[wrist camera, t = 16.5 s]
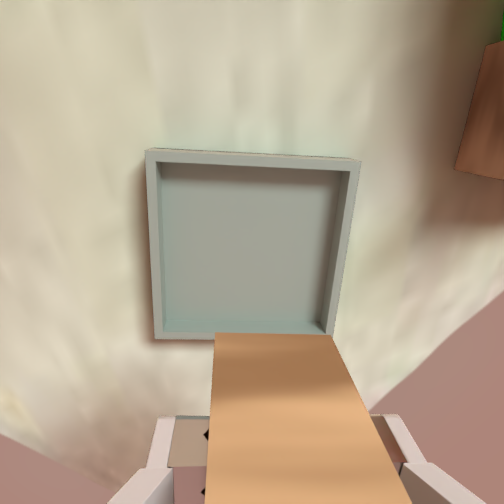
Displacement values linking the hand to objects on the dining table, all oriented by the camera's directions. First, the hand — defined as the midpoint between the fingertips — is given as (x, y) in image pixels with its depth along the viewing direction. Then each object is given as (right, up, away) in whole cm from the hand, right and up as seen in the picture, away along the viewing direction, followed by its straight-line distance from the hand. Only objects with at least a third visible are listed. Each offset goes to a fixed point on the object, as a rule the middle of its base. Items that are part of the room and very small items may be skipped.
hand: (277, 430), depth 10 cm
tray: (-1, +6, +15) cm, 16 cm away
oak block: (0, +1, +2) cm, 2 cm away
